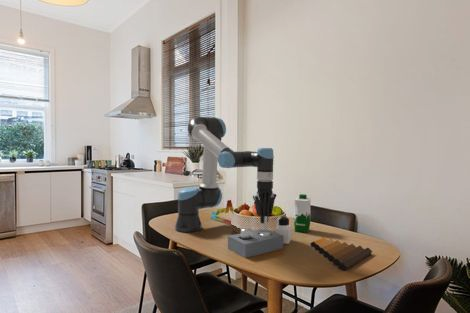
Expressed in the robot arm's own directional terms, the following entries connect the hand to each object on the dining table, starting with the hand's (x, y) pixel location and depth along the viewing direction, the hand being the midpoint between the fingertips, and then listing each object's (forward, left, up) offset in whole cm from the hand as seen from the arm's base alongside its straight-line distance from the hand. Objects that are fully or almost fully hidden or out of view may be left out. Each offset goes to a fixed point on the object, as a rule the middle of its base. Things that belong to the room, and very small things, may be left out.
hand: (264, 229), depth 144 cm
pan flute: (+25, +18, -9) cm, 32 cm away
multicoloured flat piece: (-46, +8, -9) cm, 48 cm away
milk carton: (-9, +35, -8) cm, 37 cm away
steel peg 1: (0, -11, -3) cm, 11 cm away
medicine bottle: (-1, +13, -8) cm, 15 cm away
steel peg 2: (0, 0, -7) cm, 7 cm away
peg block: (0, -5, -8) cm, 10 cm away
